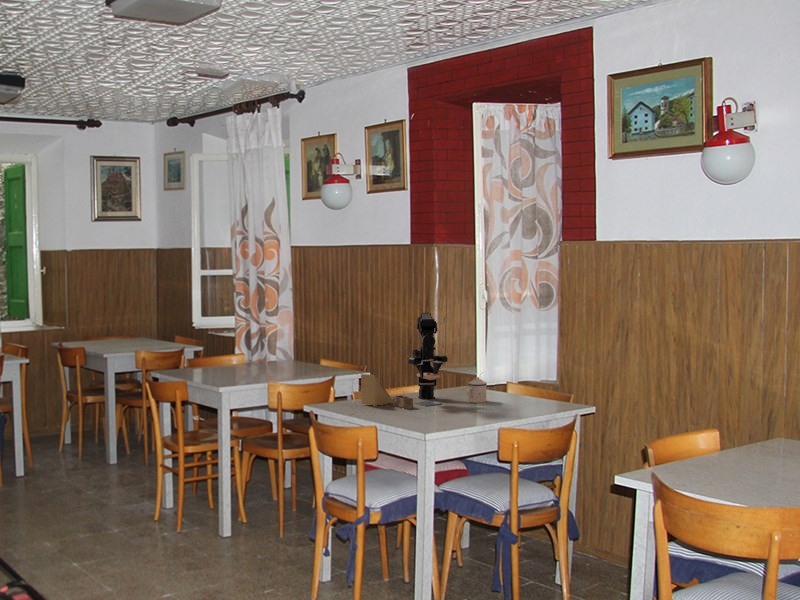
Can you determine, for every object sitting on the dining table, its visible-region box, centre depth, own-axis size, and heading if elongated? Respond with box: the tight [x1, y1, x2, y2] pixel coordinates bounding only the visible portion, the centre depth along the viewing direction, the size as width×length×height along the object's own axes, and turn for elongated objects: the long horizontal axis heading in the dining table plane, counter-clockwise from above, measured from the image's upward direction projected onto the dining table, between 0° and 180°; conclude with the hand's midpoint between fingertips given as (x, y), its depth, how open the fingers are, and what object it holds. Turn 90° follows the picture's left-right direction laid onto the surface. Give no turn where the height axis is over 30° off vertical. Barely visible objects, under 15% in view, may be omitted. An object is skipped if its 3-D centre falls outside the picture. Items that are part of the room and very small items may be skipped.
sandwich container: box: [360, 373, 393, 407], centre depth 433 cm, size 9×15×15 cm, turn 141°
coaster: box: [415, 400, 443, 407], centre depth 430 cm, size 9×9×1 cm
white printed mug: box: [466, 376, 487, 404], centre depth 435 cm, size 12×9×12 cm
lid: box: [416, 373, 441, 380], centre depth 429 cm, size 11×7×3 cm, turn 29°
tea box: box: [392, 394, 414, 409], centre depth 423 cm, size 10×5×4 cm, turn 29°
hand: (428, 377), depth 430 cm, fingers closed on lid, 7 cm apart
